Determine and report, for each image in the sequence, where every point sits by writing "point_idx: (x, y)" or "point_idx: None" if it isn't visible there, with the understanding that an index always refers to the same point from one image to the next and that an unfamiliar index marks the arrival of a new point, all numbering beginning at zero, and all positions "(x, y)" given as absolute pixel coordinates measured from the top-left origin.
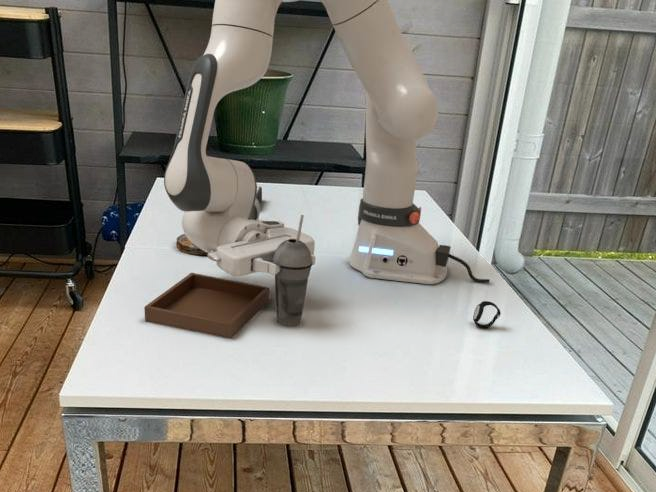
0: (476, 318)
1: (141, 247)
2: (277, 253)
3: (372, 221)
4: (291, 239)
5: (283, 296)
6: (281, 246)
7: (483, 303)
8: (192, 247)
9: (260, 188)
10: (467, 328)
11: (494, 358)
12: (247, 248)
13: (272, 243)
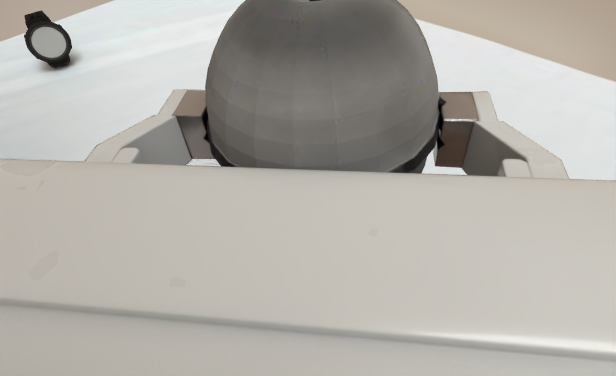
0: (69, 44)
1: None
2: (428, 75)
3: None
4: (292, 5)
5: None
6: (403, 29)
7: (39, 18)
8: None
9: None
10: (81, 71)
11: (186, 21)
12: (571, 297)
13: (226, 258)
